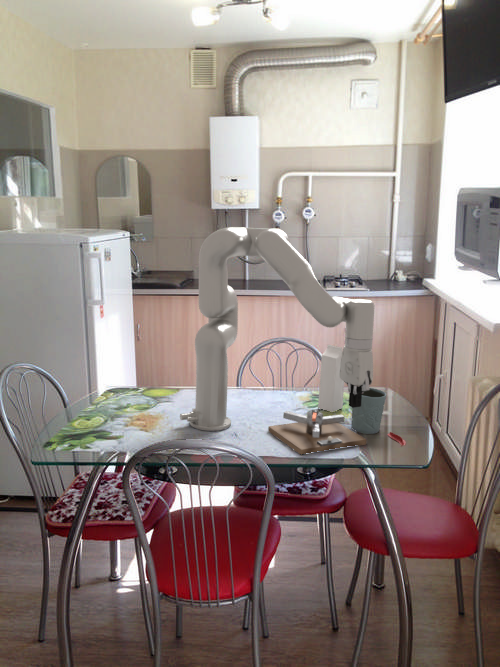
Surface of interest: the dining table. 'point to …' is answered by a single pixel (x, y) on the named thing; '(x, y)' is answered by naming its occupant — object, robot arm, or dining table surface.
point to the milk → (331, 380)
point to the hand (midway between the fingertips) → (354, 406)
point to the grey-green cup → (369, 412)
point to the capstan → (314, 420)
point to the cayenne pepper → (397, 438)
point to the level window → (329, 442)
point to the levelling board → (307, 443)
